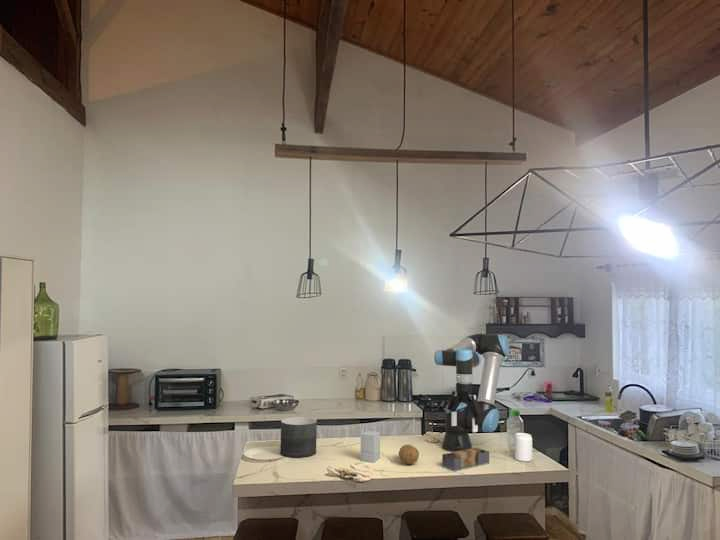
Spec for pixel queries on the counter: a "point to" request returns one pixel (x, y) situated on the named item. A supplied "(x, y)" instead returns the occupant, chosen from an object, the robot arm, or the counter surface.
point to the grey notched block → (455, 463)
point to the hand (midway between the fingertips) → (464, 428)
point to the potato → (408, 454)
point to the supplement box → (370, 446)
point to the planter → (298, 437)
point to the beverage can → (523, 447)
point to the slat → (467, 456)
